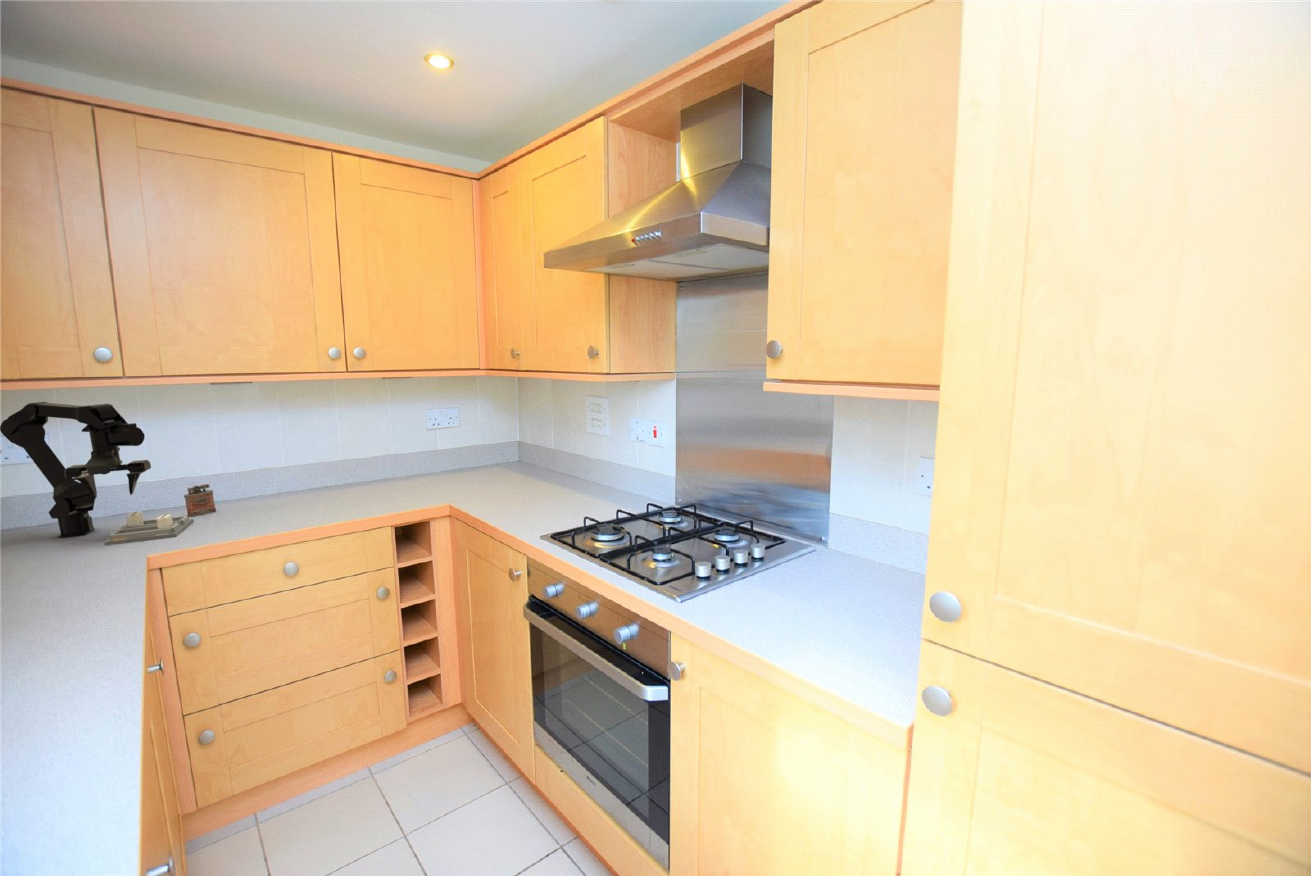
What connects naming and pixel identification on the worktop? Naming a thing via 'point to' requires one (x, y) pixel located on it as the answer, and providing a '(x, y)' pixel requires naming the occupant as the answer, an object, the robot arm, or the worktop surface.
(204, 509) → the lighter
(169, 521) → the tab
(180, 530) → the switch bank
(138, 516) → the tab
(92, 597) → the worktop surface
